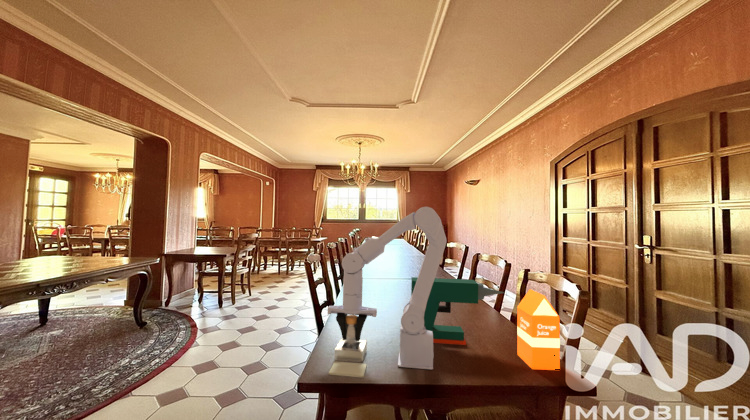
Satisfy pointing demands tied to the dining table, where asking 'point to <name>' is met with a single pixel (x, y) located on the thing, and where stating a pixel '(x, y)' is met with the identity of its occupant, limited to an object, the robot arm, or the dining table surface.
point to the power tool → (450, 293)
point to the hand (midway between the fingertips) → (351, 339)
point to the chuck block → (350, 352)
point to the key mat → (348, 369)
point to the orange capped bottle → (351, 332)
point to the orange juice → (538, 332)
